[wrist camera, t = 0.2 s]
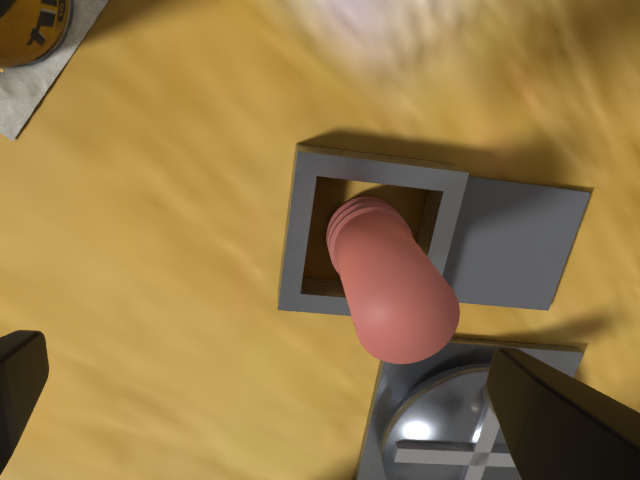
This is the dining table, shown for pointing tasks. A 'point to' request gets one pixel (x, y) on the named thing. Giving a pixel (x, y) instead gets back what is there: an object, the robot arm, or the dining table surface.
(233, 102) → the dining table surface
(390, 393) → the wheel base
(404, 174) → the collar
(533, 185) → the mat
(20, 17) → the condiment
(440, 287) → the pink rounded cylinder
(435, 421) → the handwheel
